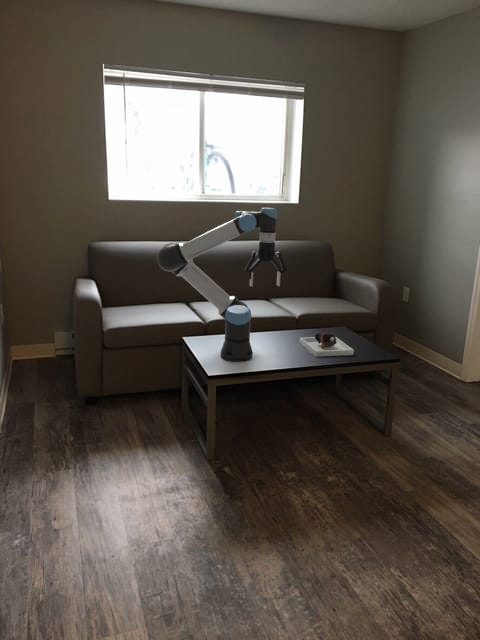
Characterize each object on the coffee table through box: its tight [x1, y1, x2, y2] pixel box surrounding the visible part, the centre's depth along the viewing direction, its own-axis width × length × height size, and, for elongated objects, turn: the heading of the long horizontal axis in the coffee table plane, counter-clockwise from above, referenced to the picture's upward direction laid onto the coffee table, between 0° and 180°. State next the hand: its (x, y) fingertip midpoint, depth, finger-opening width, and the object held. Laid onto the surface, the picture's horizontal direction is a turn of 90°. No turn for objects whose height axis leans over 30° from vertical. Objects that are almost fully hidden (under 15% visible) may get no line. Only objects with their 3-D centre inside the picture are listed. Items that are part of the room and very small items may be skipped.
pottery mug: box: [314, 332, 337, 349], centre depth 259 cm, size 12×10×8 cm
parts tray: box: [298, 336, 355, 357], centre depth 259 cm, size 20×22×2 cm
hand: (264, 285), depth 246 cm, fingers open, 13 cm apart
